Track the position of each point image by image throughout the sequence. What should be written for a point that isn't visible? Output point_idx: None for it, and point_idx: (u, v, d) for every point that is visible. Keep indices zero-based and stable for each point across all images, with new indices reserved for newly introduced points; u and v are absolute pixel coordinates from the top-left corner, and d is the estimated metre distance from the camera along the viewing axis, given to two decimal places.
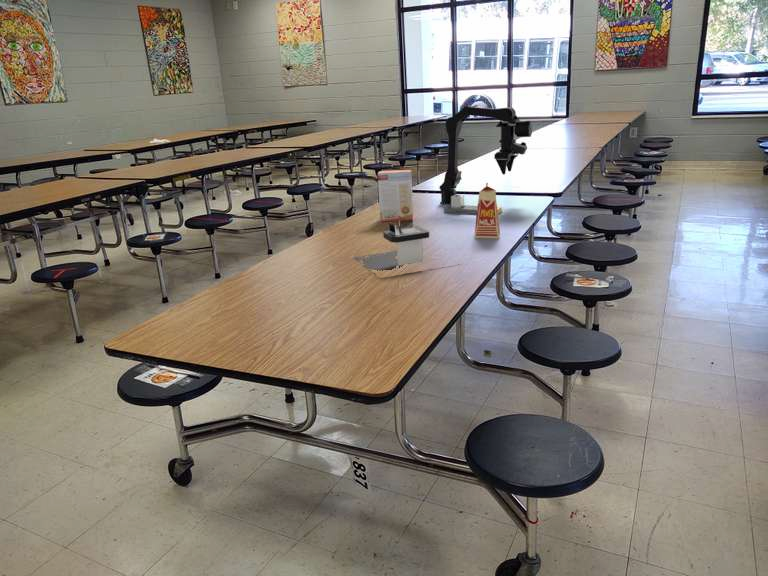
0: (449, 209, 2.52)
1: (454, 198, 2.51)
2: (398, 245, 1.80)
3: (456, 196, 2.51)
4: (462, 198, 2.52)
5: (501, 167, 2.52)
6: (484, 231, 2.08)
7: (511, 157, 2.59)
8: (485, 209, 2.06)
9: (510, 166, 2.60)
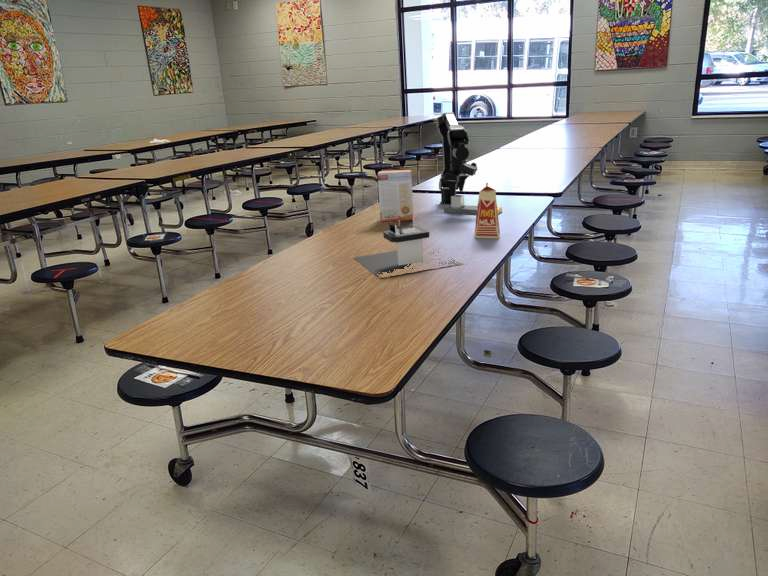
0: (449, 209, 2.52)
1: (454, 198, 2.51)
2: (398, 245, 1.80)
3: (456, 196, 2.51)
4: (462, 198, 2.52)
5: (451, 188, 2.47)
6: (484, 231, 2.08)
7: (462, 177, 2.54)
8: (485, 209, 2.06)
9: (461, 186, 2.55)
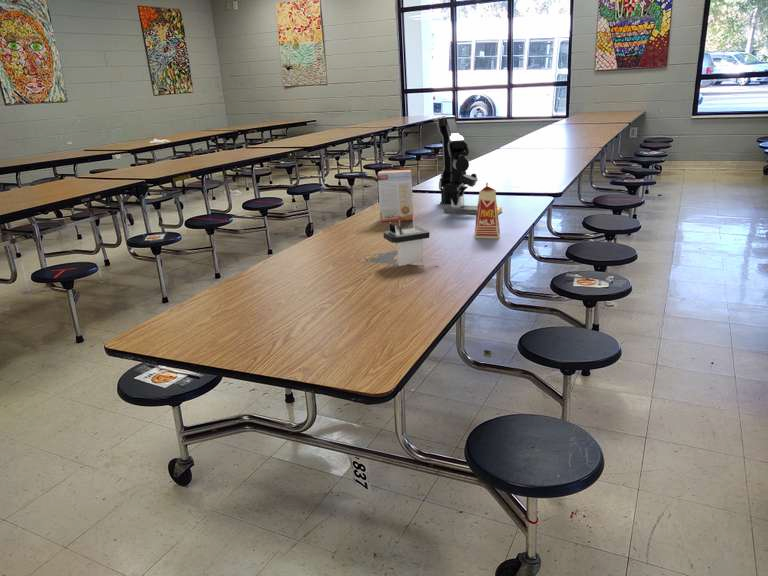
0: (449, 209, 2.52)
1: None
2: (398, 245, 1.80)
3: None
4: (462, 198, 2.52)
5: (453, 198, 2.50)
6: (484, 231, 2.08)
7: (461, 189, 2.54)
8: (485, 209, 2.06)
9: None
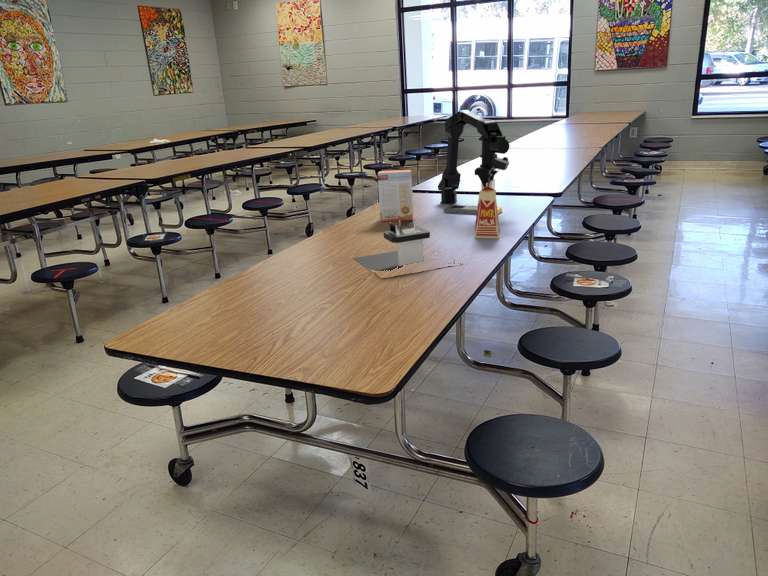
0: (449, 209, 2.52)
1: None
2: (399, 245, 1.80)
3: None
4: (493, 182, 2.43)
5: (483, 182, 2.41)
6: (484, 231, 2.08)
7: (491, 173, 2.45)
8: (485, 209, 2.06)
9: None
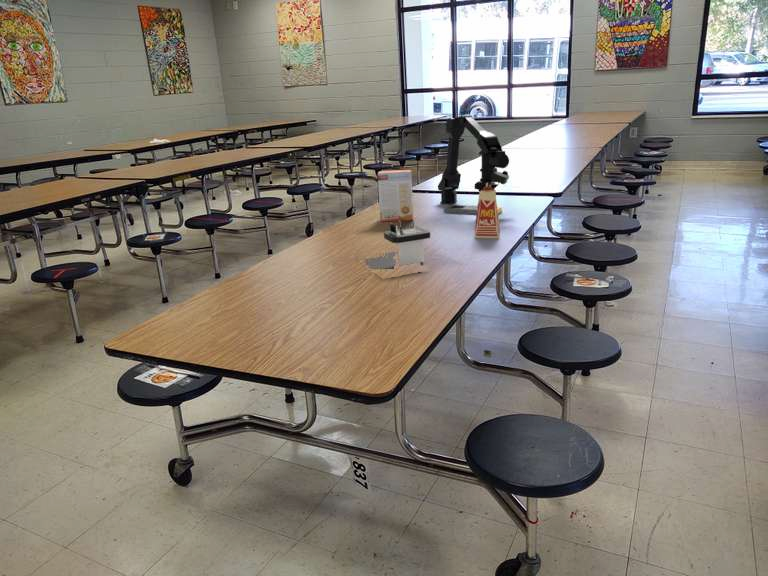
0: (449, 209, 2.52)
1: None
2: (399, 246, 1.80)
3: None
4: None
5: None
6: (484, 231, 2.08)
7: (491, 187, 2.47)
8: (485, 209, 2.06)
9: None
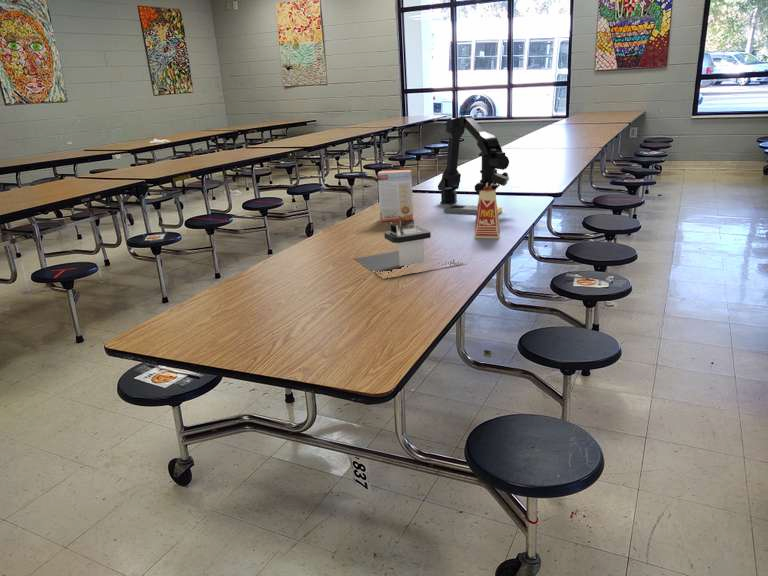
0: (449, 209, 2.52)
1: None
2: (400, 245, 1.80)
3: None
4: None
5: None
6: (484, 231, 2.08)
7: (493, 187, 2.49)
8: (485, 209, 2.06)
9: None
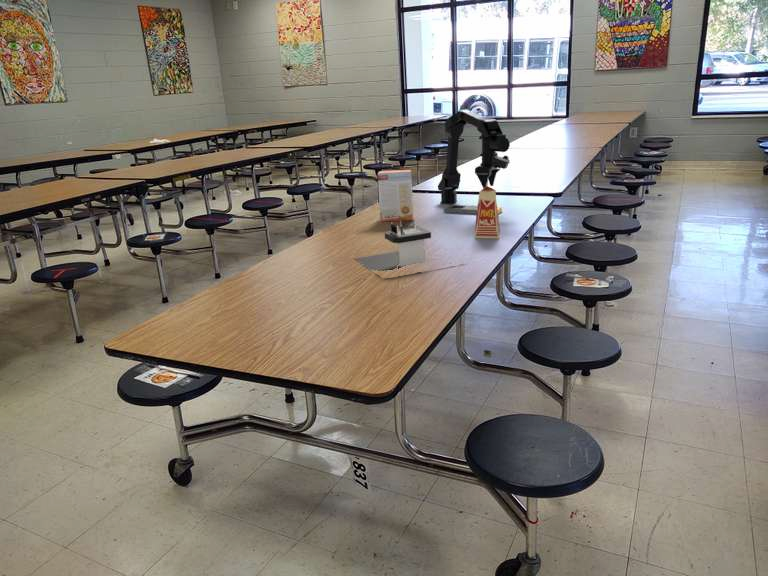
0: (449, 209, 2.52)
1: None
2: (400, 246, 1.79)
3: None
4: None
5: (482, 182, 2.39)
6: (484, 231, 2.08)
7: (493, 171, 2.46)
8: (485, 209, 2.06)
9: (492, 180, 2.47)
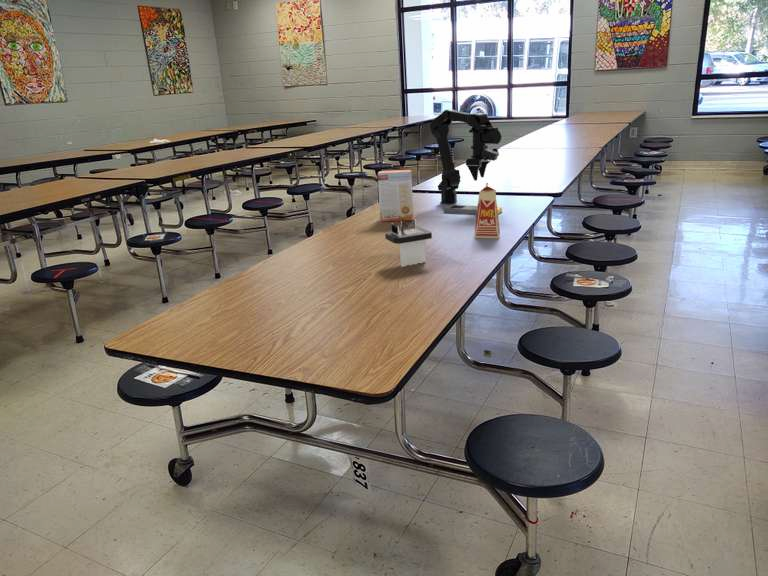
0: (449, 209, 2.52)
1: None
2: (401, 246, 1.79)
3: None
4: None
5: (473, 173, 2.50)
6: (484, 231, 2.08)
7: (483, 163, 2.58)
8: (485, 209, 2.06)
9: (483, 172, 2.58)
